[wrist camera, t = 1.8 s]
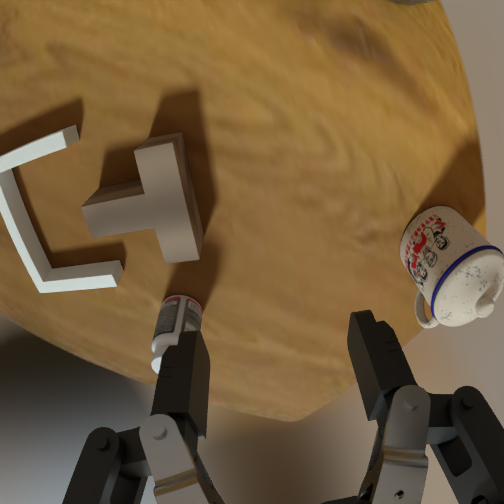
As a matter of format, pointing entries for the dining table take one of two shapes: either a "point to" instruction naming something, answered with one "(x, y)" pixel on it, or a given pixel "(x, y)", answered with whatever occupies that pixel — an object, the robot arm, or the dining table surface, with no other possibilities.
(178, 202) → the t block
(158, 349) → the pill bottle
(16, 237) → the pocket
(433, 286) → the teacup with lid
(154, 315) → the dining table surface
